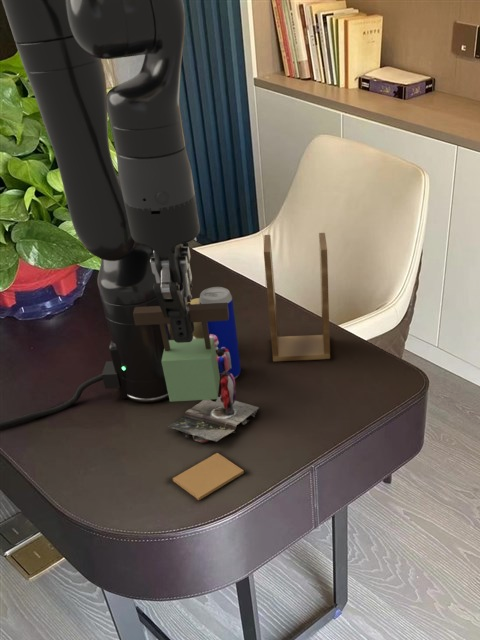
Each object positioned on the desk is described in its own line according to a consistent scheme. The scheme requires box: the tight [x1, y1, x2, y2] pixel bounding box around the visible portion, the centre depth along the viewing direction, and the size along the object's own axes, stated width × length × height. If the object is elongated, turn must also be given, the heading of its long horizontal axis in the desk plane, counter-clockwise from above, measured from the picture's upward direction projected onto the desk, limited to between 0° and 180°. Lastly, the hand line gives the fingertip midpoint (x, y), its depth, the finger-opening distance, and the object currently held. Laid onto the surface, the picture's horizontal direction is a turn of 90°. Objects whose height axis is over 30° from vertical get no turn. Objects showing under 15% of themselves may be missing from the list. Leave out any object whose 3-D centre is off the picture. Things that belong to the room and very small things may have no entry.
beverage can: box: [199, 286, 242, 380], centre depth 118 cm, size 5×5×15 cm
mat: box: [172, 452, 245, 501], centre depth 102 cm, size 8×6×1 cm
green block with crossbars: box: [133, 303, 229, 403], centre depth 89 cm, size 11×5×12 cm, turn 95°
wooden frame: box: [263, 232, 331, 362], centre depth 123 cm, size 10×7×20 cm
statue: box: [167, 334, 260, 444], centre depth 108 cm, size 11×9×15 cm
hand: (184, 336), depth 88 cm, fingers closed on green block with crossbars
